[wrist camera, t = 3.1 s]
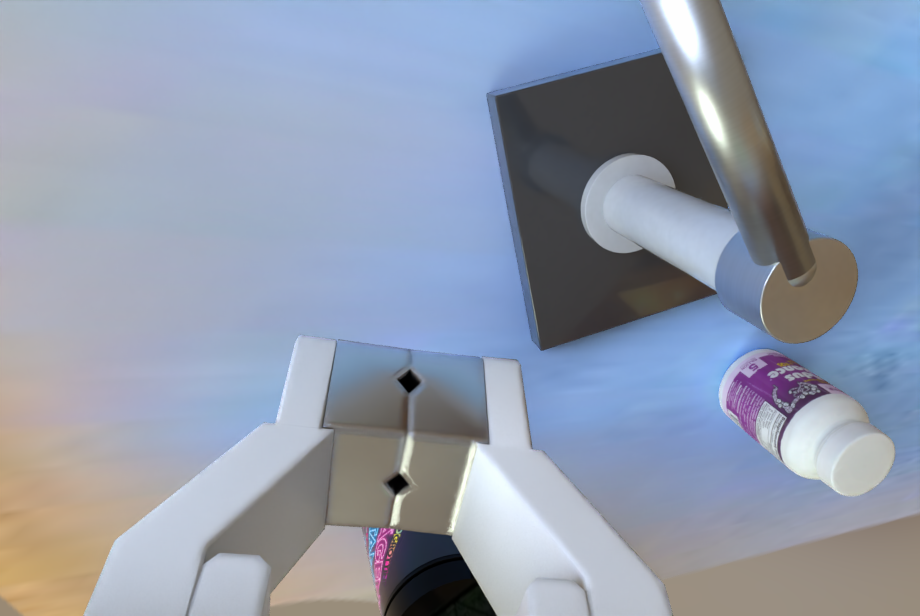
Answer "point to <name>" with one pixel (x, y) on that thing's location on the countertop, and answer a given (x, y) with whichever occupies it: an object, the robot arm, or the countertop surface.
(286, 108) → the countertop surface
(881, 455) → the pill bottle
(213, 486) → the robot arm
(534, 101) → the tap stand
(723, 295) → the spout
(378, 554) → the supplement container
